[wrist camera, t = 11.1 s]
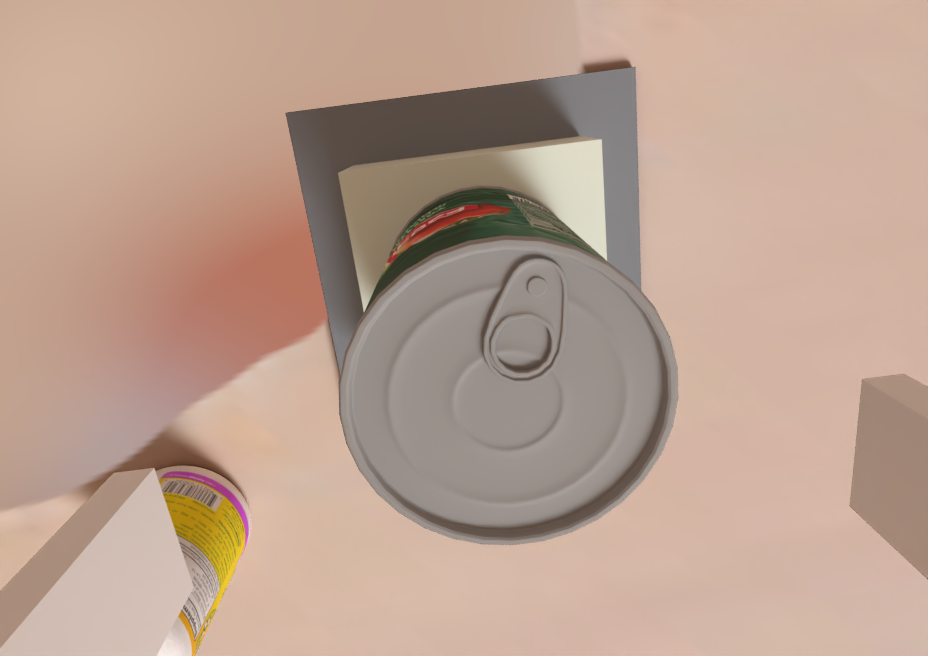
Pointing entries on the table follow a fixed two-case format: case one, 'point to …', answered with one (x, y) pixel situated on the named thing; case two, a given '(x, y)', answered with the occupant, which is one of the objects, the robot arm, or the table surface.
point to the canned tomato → (504, 374)
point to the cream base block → (428, 177)
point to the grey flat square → (454, 130)
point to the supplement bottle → (203, 546)
